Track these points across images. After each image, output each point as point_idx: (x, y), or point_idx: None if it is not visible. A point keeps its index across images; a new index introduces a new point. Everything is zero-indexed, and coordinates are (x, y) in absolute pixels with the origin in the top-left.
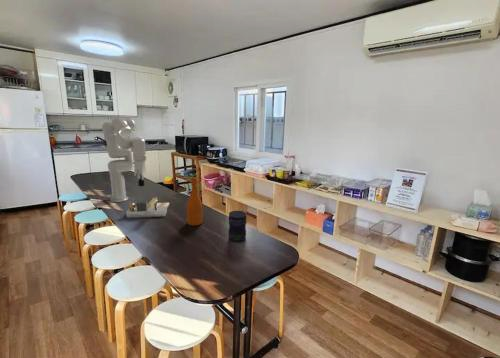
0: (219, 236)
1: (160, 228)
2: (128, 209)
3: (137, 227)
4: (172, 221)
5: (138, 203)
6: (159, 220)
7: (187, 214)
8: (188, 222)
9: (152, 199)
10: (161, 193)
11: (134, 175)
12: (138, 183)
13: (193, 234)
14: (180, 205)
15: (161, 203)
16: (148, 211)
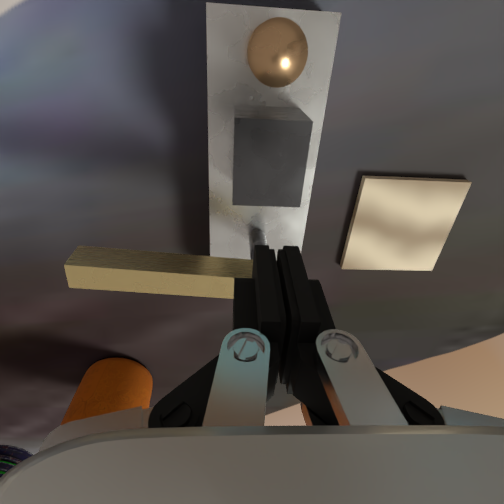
0: (12, 429)
1: (40, 263)
2: (274, 9)
3: (28, 139)
4: (138, 302)
5: (234, 138)
6: (151, 246)
7: (77, 403)
8: (90, 370)
9: (207, 279)
10: None
11: (3, 490)
12: (256, 272)
13: (7, 374)
14: (369, 318)
15: (435, 229)
16: (209, 196)
